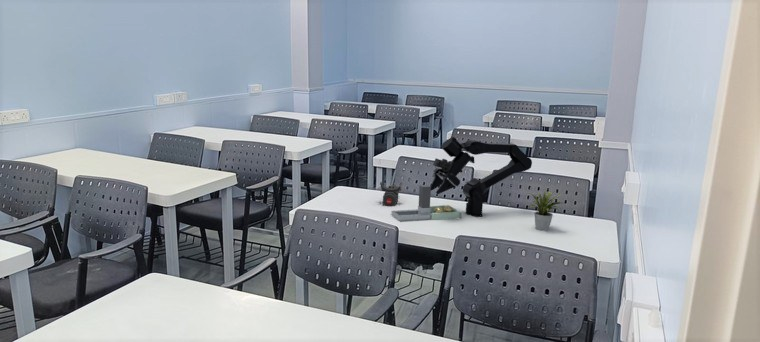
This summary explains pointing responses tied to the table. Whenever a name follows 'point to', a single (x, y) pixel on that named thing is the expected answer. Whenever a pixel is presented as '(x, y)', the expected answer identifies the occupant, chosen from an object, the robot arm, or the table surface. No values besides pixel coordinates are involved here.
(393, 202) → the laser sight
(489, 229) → the table surface
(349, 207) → the table surface
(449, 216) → the tray
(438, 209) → the brass sphere
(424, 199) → the tall gray pillar
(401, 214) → the slot rail
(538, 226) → the house plant
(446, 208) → the gold ball
